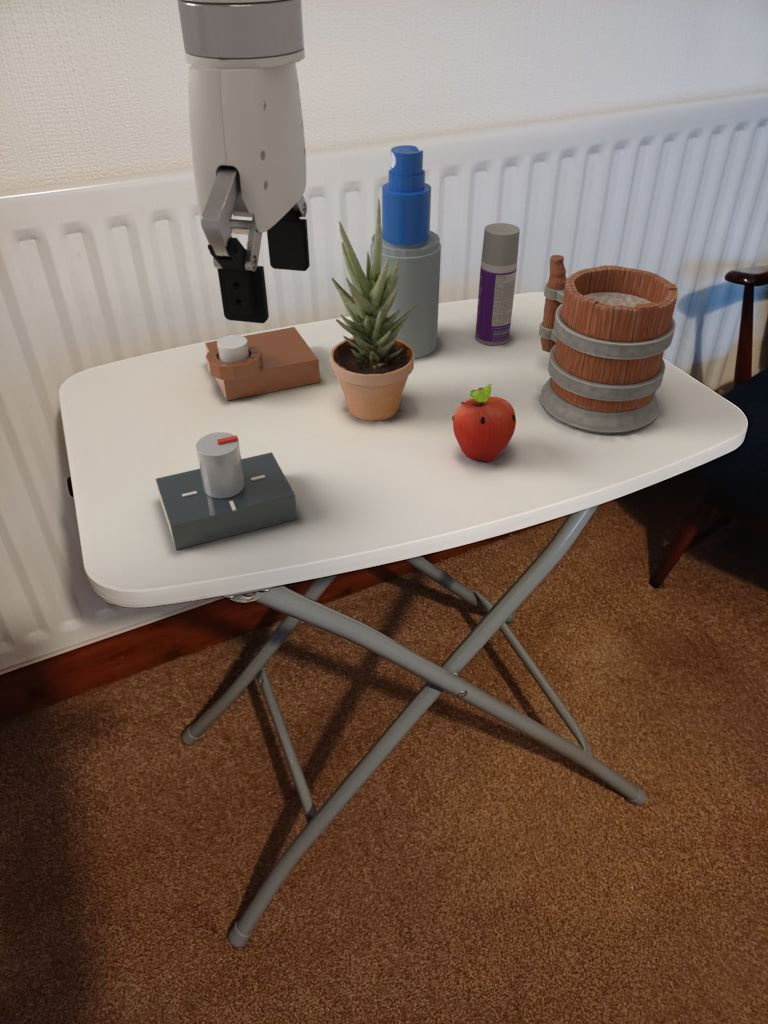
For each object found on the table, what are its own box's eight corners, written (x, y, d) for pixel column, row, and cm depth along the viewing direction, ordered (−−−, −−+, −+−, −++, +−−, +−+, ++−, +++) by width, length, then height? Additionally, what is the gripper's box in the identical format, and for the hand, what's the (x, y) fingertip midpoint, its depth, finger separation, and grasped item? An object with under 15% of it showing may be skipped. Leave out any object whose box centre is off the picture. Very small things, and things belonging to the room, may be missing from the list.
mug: (587, 448, 87) (612, 322, 78) (493, 372, 101) (504, 258, 91) (683, 418, 92) (717, 296, 83) (581, 350, 106) (600, 239, 96)
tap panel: (176, 551, 74) (170, 525, 72) (160, 501, 80) (154, 476, 78) (297, 519, 78) (295, 494, 76) (274, 474, 83) (271, 450, 81)
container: (469, 333, 110) (477, 225, 100) (499, 328, 111) (509, 220, 101) (484, 348, 106) (494, 237, 97) (515, 342, 107) (527, 232, 98)
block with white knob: (219, 408, 94) (213, 371, 91) (198, 366, 102) (193, 331, 99) (323, 386, 98) (321, 350, 95) (296, 348, 106) (293, 313, 103)
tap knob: (208, 502, 75) (200, 456, 71) (199, 479, 78) (191, 434, 74) (249, 492, 76) (243, 447, 73) (239, 470, 79) (232, 425, 75)
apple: (443, 441, 88) (447, 361, 82) (501, 434, 89) (509, 355, 83) (461, 480, 83) (467, 398, 76) (523, 473, 84) (534, 391, 77)
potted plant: (339, 433, 90) (330, 214, 74) (328, 392, 97) (317, 184, 81) (424, 424, 91) (432, 207, 76) (407, 384, 98) (411, 179, 83)
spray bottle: (382, 363, 103) (381, 161, 87) (363, 334, 109) (359, 141, 94) (446, 354, 105) (456, 154, 89) (423, 326, 111) (429, 136, 96)
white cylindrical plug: (223, 366, 93) (220, 350, 91) (216, 353, 95) (213, 337, 94) (252, 360, 94) (250, 345, 92) (244, 347, 96) (243, 332, 95)
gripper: (237, 13, 56) (262, 248, 67) (122, 53, 43) (176, 338, 54) (338, 15, 55) (346, 255, 66) (250, 58, 42) (279, 349, 53)
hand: (269, 292), depth 60 cm, fingers open, 9 cm apart
